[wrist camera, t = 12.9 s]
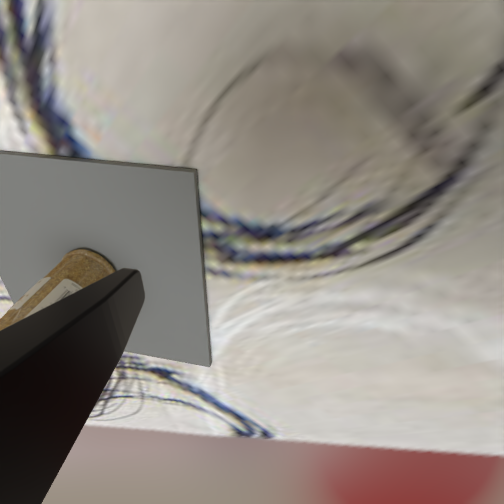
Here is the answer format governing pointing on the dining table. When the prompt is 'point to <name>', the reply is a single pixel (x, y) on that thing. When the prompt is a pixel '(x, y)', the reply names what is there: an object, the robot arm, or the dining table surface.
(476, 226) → the dining table surface
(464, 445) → the dining table surface
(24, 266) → the mat
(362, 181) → the dining table surface
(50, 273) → the sprinkles bottle
